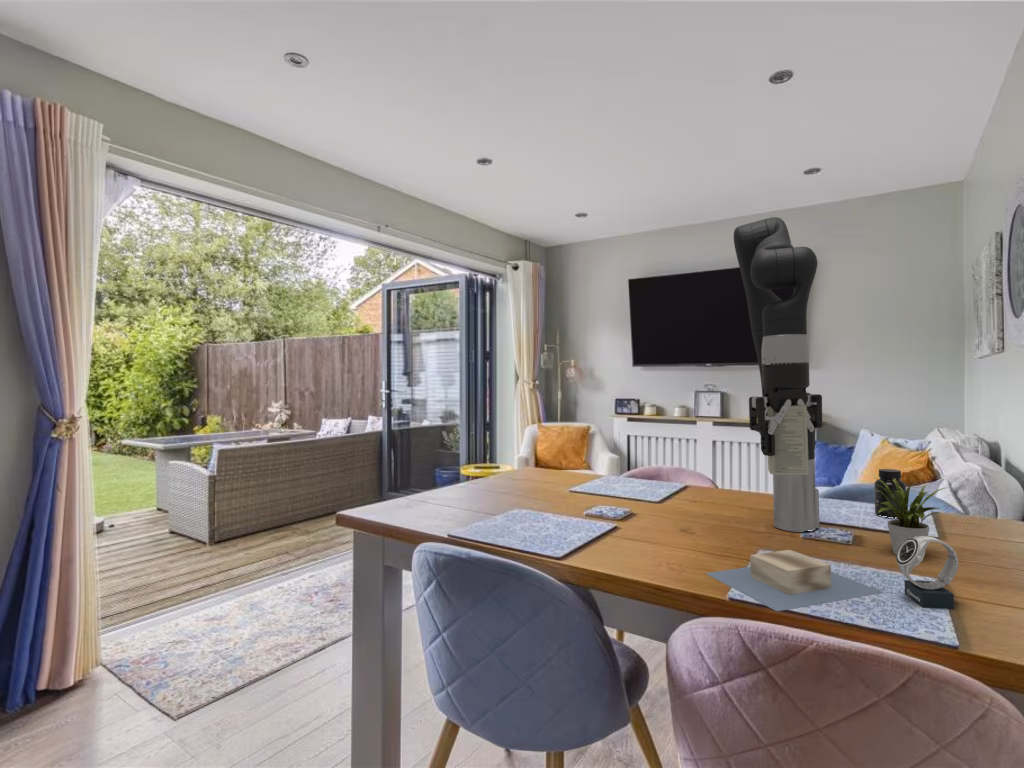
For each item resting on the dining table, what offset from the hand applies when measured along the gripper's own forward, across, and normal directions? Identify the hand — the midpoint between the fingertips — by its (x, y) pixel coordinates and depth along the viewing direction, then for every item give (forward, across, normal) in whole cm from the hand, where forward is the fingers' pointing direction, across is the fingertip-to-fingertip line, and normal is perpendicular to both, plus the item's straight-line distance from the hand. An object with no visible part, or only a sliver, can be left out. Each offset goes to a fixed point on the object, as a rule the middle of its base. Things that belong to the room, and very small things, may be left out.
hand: (786, 453), depth 98 cm
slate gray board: (+24, 0, 0) cm, 24 cm away
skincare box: (+4, 0, 0) cm, 4 cm away
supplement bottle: (+24, -61, -30) cm, 72 cm away
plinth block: (+23, 0, 0) cm, 23 cm away
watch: (+24, -14, +14) cm, 31 cm away
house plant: (+24, -35, -7) cm, 43 cm away
